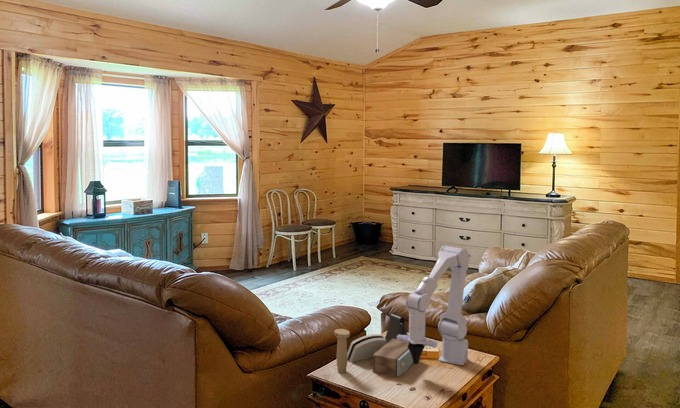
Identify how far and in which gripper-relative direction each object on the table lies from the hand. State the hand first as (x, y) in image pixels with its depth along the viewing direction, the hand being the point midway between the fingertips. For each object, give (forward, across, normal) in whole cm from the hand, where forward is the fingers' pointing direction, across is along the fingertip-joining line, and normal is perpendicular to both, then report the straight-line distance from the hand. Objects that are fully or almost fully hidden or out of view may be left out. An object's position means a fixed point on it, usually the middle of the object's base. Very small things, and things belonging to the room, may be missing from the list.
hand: (416, 363), depth 201 cm
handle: (+5, -25, -10) cm, 27 cm away
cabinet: (+5, -10, +5) cm, 12 cm away
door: (+4, -5, +5) cm, 8 cm away
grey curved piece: (+5, -23, +7) cm, 25 cm away
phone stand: (+5, -18, +26) cm, 32 cm away
